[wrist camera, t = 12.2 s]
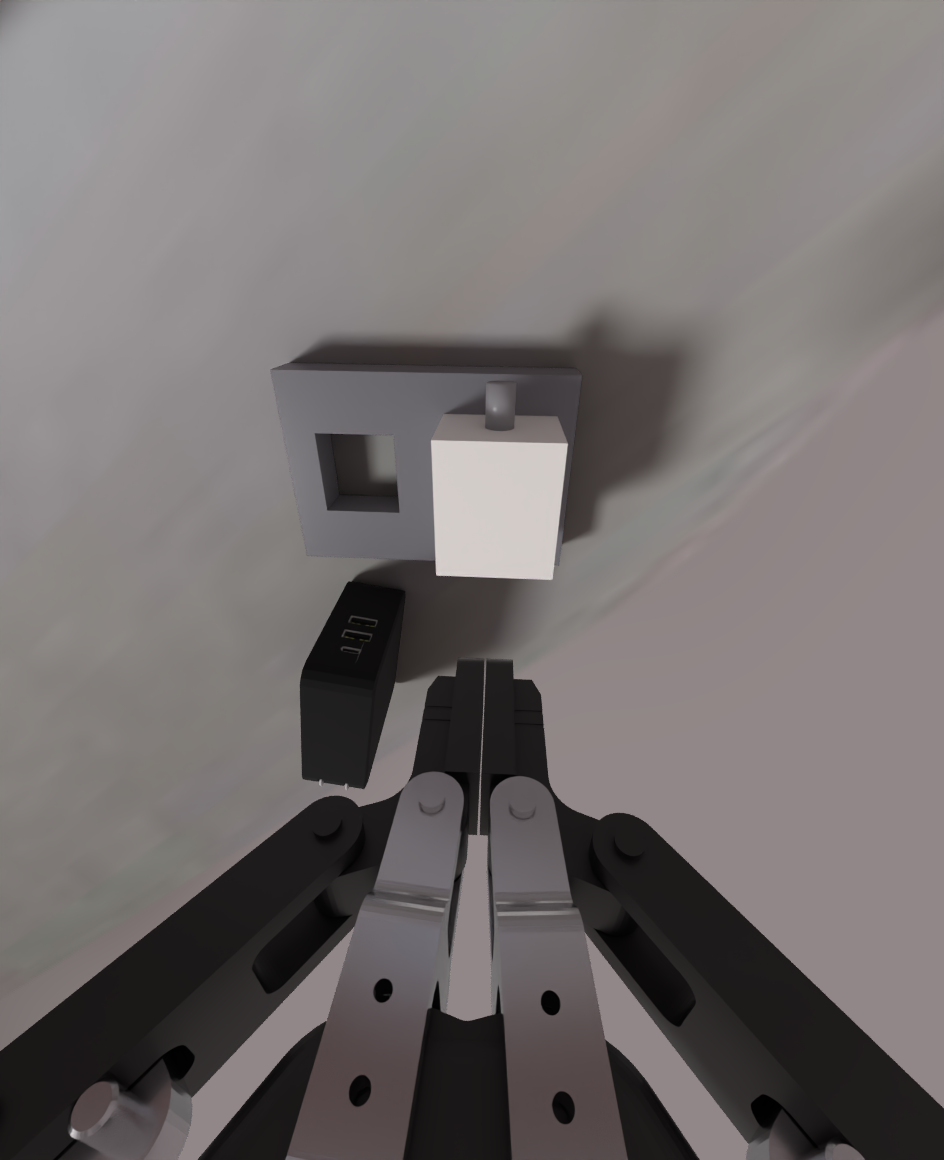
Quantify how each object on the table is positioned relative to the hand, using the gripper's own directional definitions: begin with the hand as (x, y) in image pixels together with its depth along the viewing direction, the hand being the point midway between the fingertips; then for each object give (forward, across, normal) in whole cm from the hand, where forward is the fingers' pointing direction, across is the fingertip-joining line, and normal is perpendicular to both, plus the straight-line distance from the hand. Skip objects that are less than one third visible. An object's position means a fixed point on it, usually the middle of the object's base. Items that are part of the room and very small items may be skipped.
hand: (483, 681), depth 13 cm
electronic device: (+19, +9, +14) cm, 25 cm away
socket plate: (+19, +4, 0) cm, 19 cm away
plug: (+18, 0, 0) cm, 18 cm away
